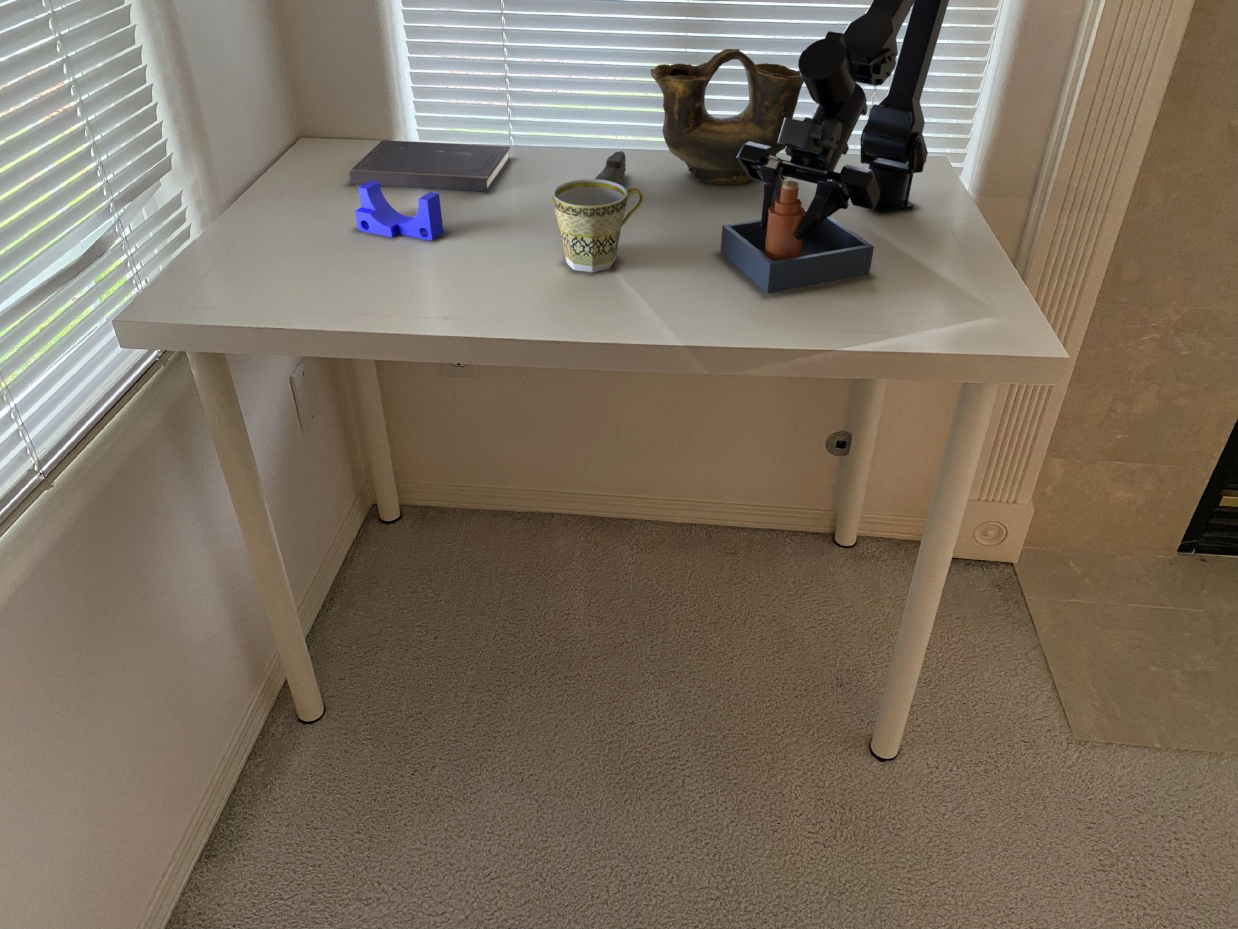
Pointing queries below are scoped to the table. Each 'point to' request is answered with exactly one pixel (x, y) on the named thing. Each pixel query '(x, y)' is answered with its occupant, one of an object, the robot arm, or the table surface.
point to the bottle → (784, 224)
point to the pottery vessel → (720, 139)
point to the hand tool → (614, 168)
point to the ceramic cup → (591, 221)
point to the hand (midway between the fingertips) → (779, 233)
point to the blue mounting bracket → (398, 215)
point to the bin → (822, 257)
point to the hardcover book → (432, 165)
